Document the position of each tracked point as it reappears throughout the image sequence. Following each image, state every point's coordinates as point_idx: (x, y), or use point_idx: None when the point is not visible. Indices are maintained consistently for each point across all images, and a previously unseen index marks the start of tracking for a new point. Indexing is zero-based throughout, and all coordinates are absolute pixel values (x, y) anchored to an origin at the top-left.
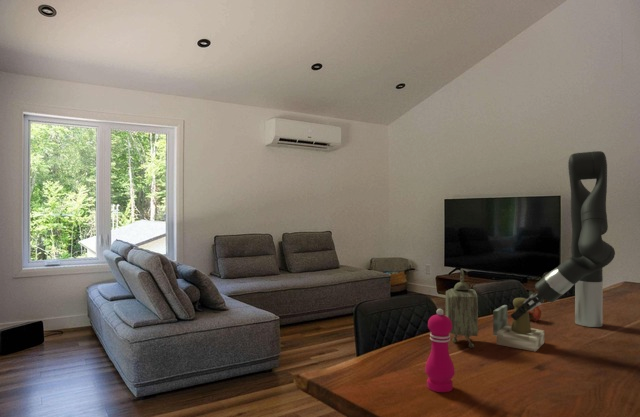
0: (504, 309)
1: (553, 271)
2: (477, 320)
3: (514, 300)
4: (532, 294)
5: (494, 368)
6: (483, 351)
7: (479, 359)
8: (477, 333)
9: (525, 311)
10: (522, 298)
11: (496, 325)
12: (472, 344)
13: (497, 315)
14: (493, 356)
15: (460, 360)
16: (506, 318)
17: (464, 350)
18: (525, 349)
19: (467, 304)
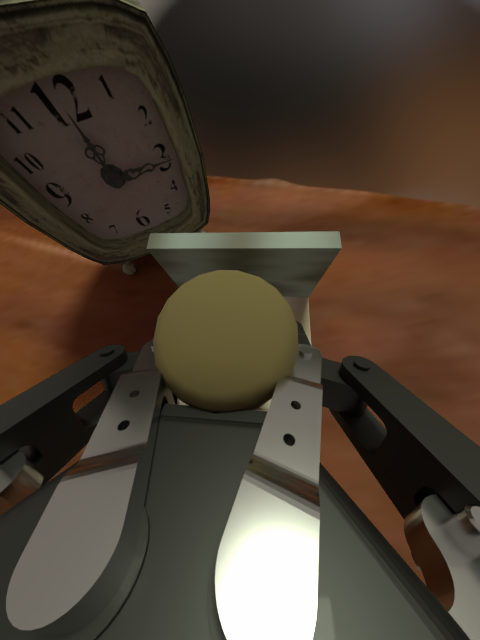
0: (278, 257)
1: None
2: (41, 231)
3: (185, 283)
4: (16, 574)
5: (4, 354)
6: (121, 300)
7: (57, 310)
8: (96, 261)
9: (96, 401)
10: (207, 340)
11: (176, 283)
12: (123, 269)
13: (166, 262)
14: (91, 329)
15: (39, 281)
16: (302, 284)
17: (111, 266)
18: None
19: None
